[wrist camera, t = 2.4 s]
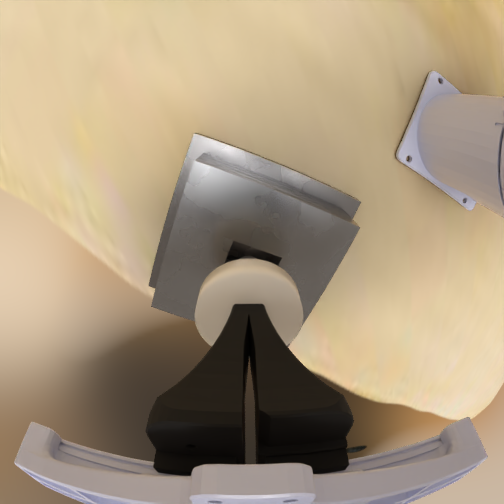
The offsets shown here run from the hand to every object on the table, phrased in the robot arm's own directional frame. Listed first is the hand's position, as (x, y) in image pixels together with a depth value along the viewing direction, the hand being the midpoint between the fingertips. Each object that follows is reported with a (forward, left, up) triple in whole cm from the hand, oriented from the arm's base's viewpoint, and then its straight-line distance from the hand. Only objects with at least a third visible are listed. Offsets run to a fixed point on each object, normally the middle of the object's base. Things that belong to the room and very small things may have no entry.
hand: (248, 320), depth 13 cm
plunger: (0, 0, -5) cm, 5 cm away
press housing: (0, 0, -9) cm, 9 cm away
